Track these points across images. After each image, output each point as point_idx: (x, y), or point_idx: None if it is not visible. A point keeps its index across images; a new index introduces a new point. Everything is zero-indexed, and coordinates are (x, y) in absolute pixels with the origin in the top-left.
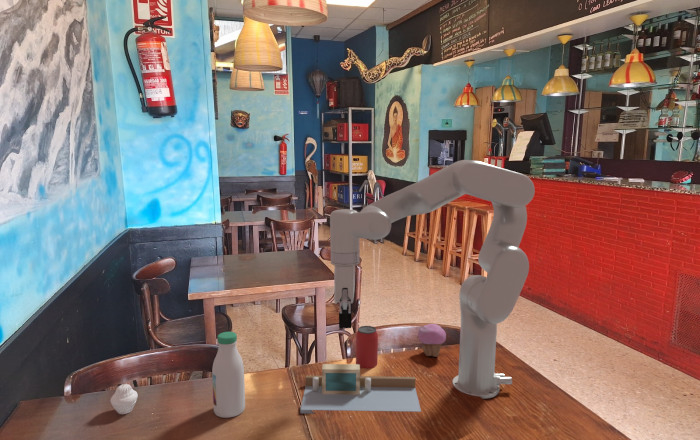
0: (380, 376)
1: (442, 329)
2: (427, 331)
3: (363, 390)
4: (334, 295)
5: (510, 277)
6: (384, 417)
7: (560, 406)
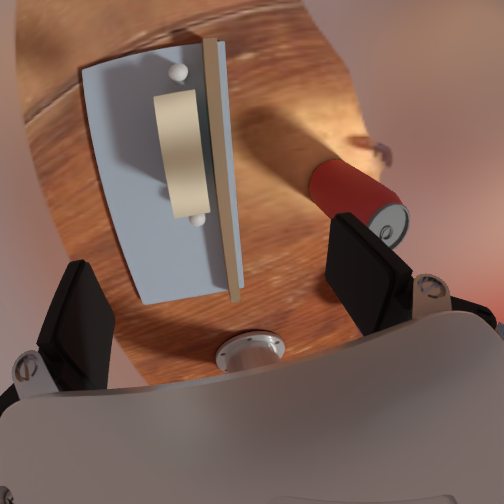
0: (233, 238)
1: None
2: None
3: None
4: (13, 494)
5: None
6: (115, 246)
7: None
